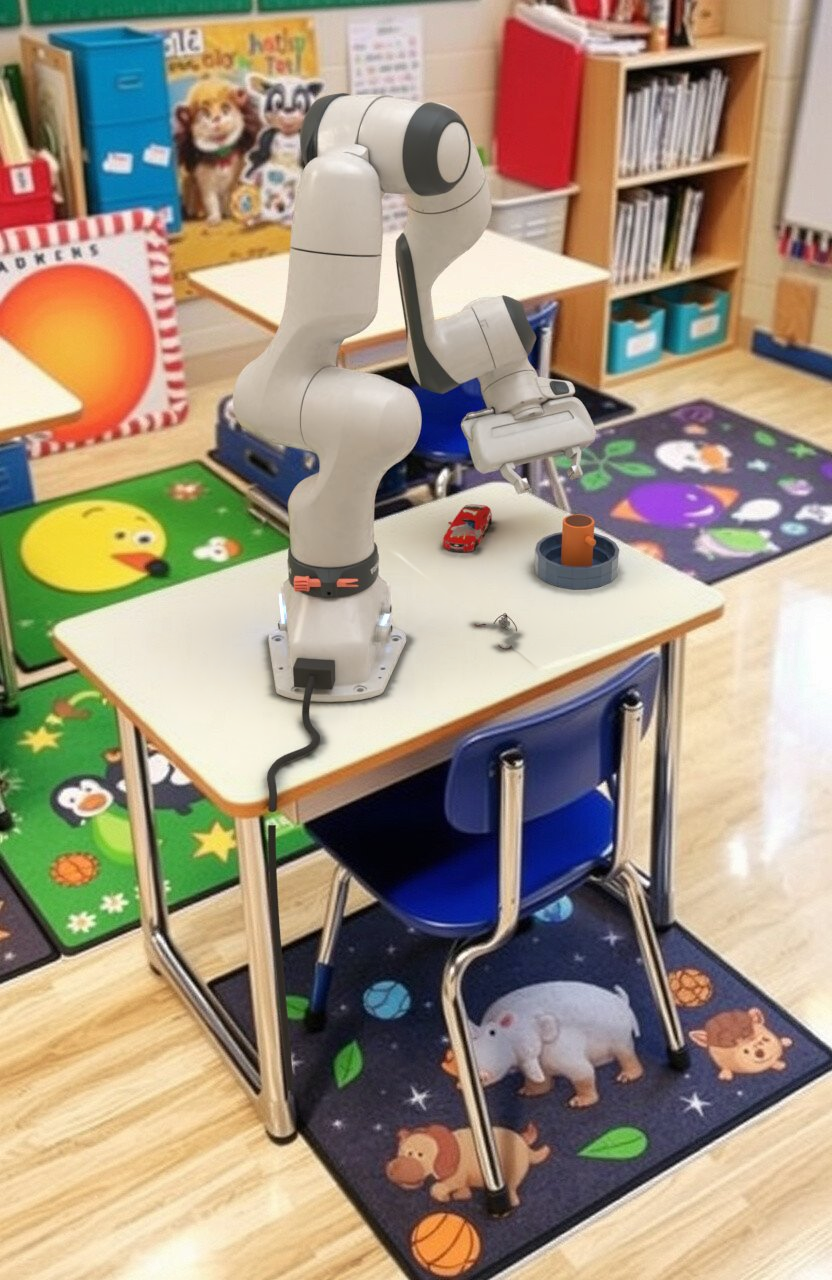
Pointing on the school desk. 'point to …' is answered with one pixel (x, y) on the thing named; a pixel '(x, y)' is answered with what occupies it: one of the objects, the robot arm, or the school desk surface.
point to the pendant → (503, 624)
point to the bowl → (576, 577)
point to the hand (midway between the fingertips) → (550, 485)
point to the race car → (468, 528)
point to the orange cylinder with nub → (577, 541)
